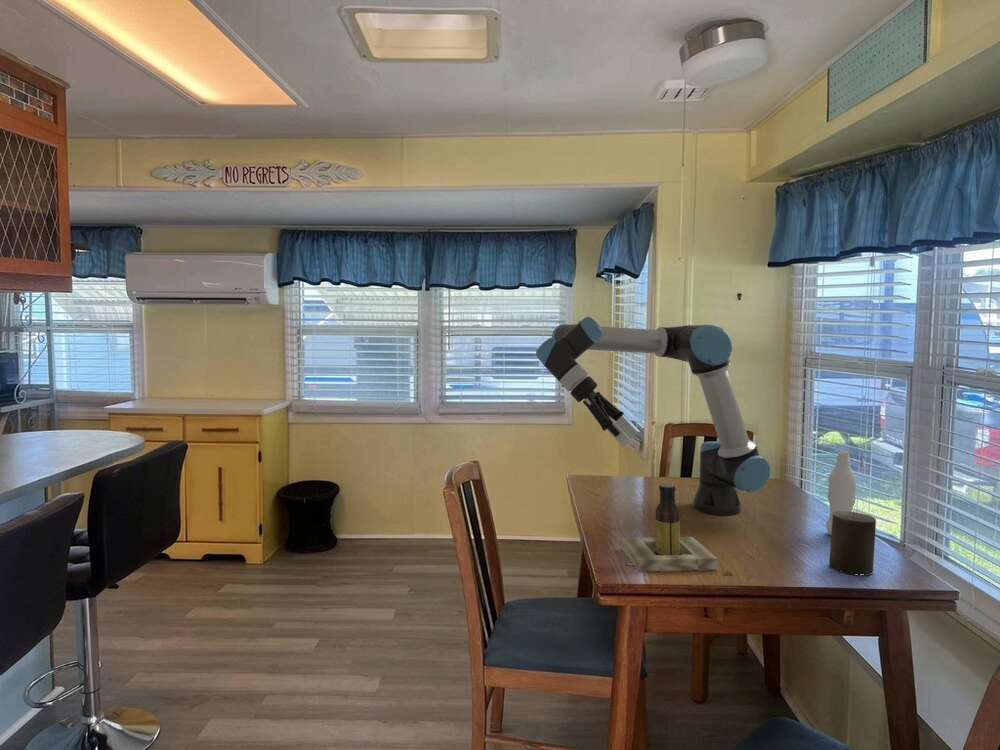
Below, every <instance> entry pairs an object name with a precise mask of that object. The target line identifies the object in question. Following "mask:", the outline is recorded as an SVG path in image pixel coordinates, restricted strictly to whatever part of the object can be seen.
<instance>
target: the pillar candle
mask: <svg viewBox="0 0 1000 750" xmlns="http://www.w3.org/2000/svg"><path fill="white" fill-rule="evenodd" d="M876 525H877V519H876V518H875V517H873V516H872V515H870V514H865V513H861V512H858V511H857V512H856V511H854V510H852V512H849V511H836V512H833V518H832V532H831V535H830V545H829V546H830V550H829V559H828V560H829V566H830V567H831V568H832V569H833V570H835V569H836V571H837V570H839V571H838V572H840V571H842V572H841V573H843V572H846V573H845V574H847V573H850V574H849V575H852V574H858V575H860V574H864V575H866V574H870V573H872V572H873V573H874V560H875V558H874V557H875V545H876V543H875V542H876V540H875V539H876V529H877V528H876V527H877V526H876ZM873 573H872V574H873ZM858 575H857V576H858ZM866 576H867V575H866Z"/></svg>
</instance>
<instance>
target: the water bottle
mask: <svg viewBox="0 0 1000 750" xmlns="http://www.w3.org/2000/svg"><path fill="white" fill-rule="evenodd" d="M850 462H851V459H850V452H848V451H843V450H842V451H841V450H840V451H837V457H836V463H835V465H834V467H833V468H832V470H831V472H830V474H829V475H828V491H827V500H828V503H829V516H828V519H827V520H826V522H825V528H826V531H827V533H828V535H830V536H831V532H832V518H833V512H836V511H849V512H853V508H854V506H855V504H856V487H857V485H856V484H857V478H856V477H857V476H856V475H855V473H854V471H853V469H852V467H851V465H850Z"/></svg>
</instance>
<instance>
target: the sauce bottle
mask: <svg viewBox="0 0 1000 750" xmlns="http://www.w3.org/2000/svg"><path fill="white" fill-rule="evenodd" d="M658 490H659V494H660V496H659V503H658V505H657V507H656V508H655V516H654V517H655V520H654V521H655V533H654V534H655V538H656V552H655V555H680V537H681V536H680V535H681V529H680V528H681V526H680V525H681V520H680V519H681V518H680V509H679V508H678V506H677V503H676V499H675V496H676V493H675V492H676V485H675V484H672V483H661V484H659V489H658Z"/></svg>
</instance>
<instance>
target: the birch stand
mask: <svg viewBox="0 0 1000 750" xmlns="http://www.w3.org/2000/svg"><path fill="white" fill-rule="evenodd" d="M621 550H622V552H623V553H624V554H625V556H627V558H628V559H629V560H630V562H631V563H632V564H633V565H634V566H636V567H635V568H636V569H637V570H638V572H640V573H649V572H650V573H652V572H654V573H655V572H656V571H660V572H686V571H687V572H692V571H691V570H699V571H718V557H717V556H715V555H714V554H713V553H712V552H710V550H709V549H707V548H706V547H705V546H704V545H702V544H701V543H700V542H699V541H698V540H697V539H695V538H694V537H693V536H680V553H679V555H656V537H622V538H621Z"/></svg>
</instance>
